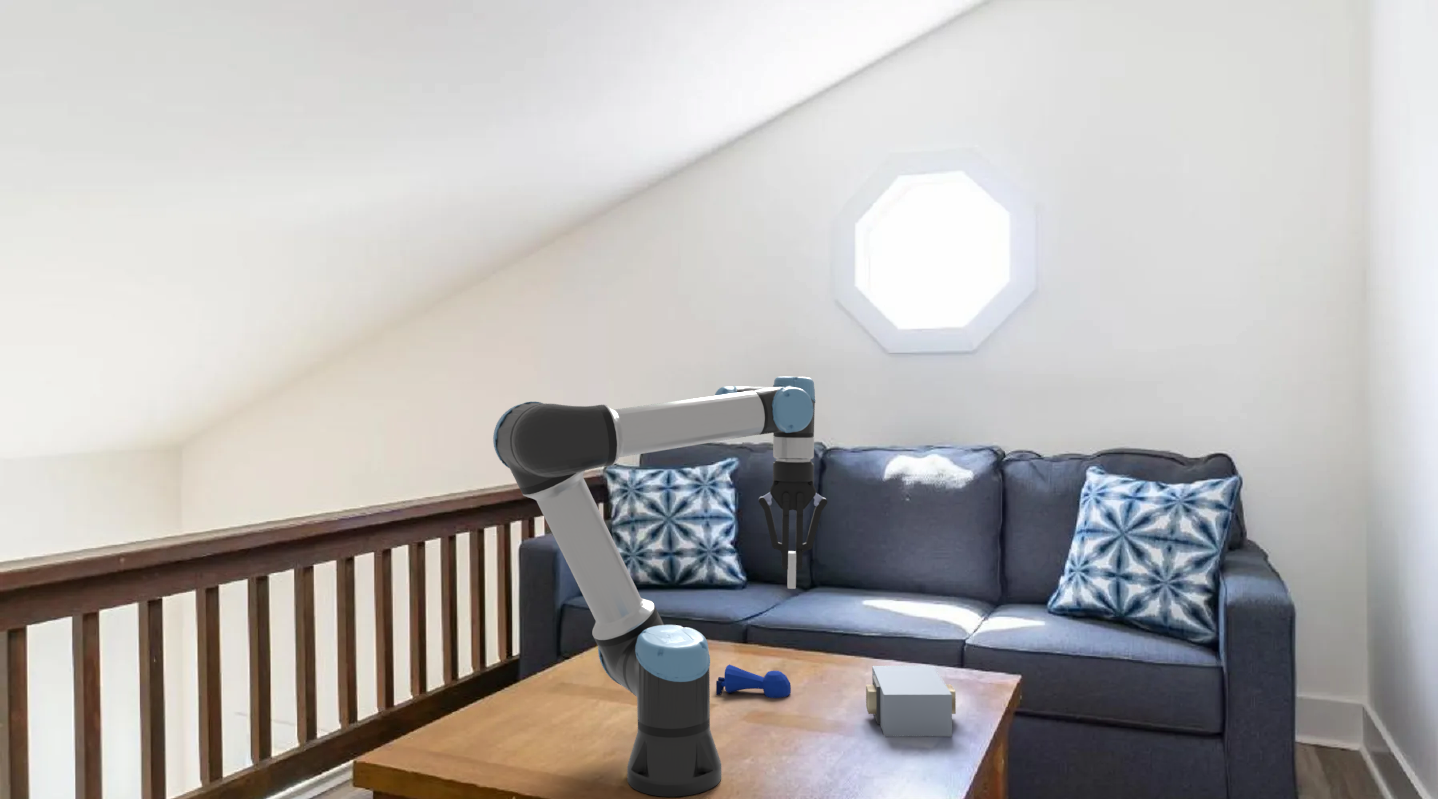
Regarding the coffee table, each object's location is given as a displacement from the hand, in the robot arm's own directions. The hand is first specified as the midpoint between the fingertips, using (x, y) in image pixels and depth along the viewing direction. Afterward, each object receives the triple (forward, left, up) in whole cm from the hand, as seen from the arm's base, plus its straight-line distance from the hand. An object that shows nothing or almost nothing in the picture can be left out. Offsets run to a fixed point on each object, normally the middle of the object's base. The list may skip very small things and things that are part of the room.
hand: (791, 587), depth 187 cm
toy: (+18, +7, -26) cm, 33 cm away
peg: (+2, -22, -24) cm, 32 cm away
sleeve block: (+2, -22, -25) cm, 34 cm away
